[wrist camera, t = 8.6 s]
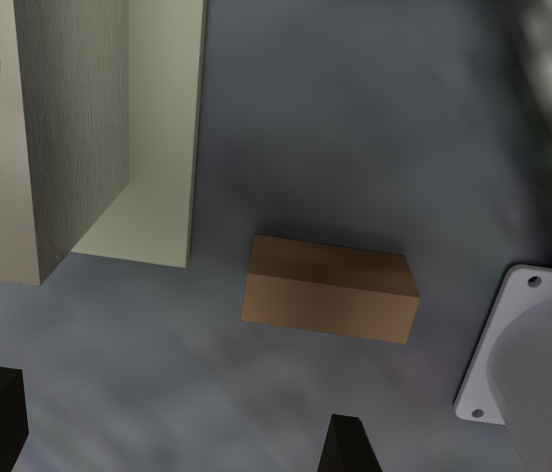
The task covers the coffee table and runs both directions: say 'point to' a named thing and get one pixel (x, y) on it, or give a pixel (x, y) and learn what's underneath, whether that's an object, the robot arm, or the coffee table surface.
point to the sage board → (157, 137)
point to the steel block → (59, 127)
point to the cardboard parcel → (329, 289)
